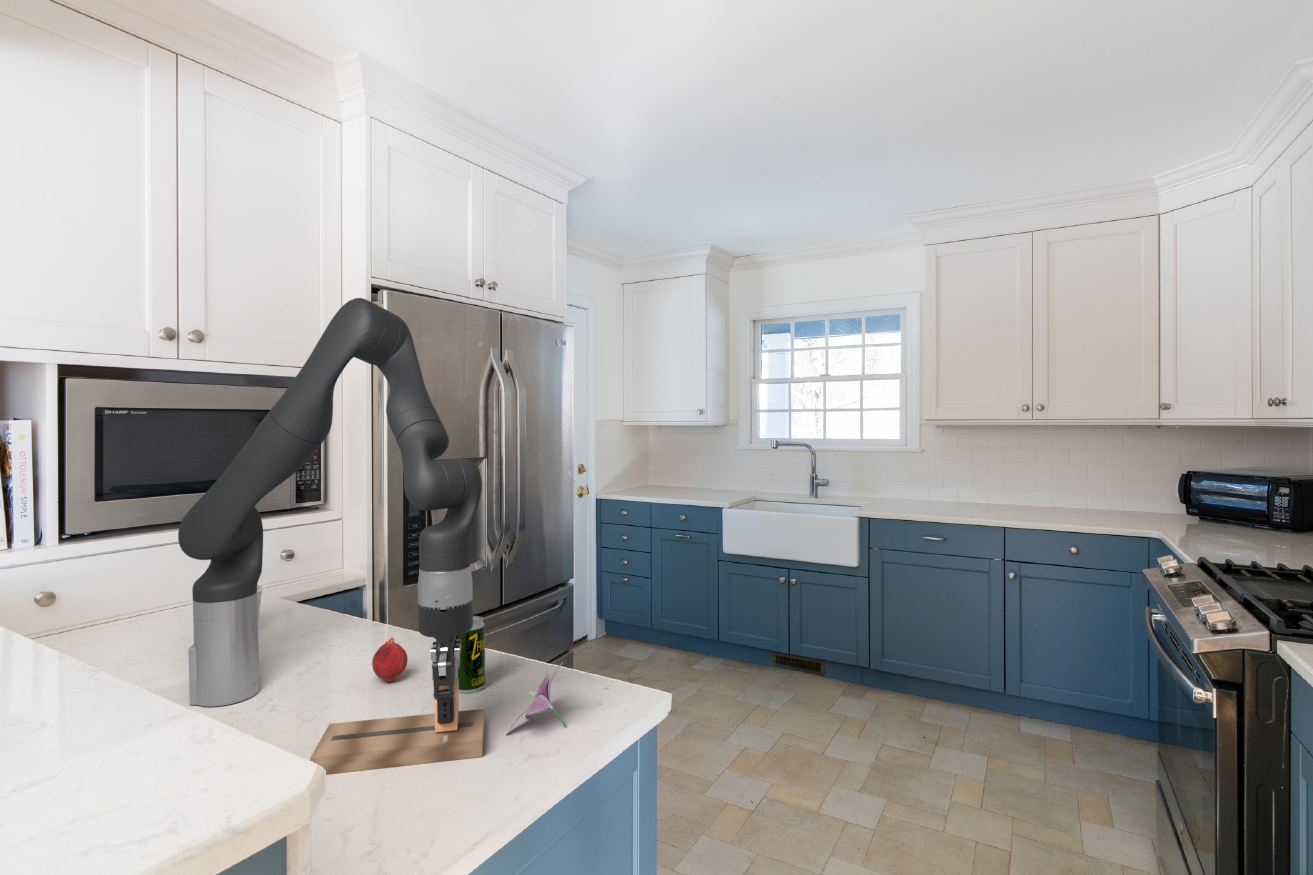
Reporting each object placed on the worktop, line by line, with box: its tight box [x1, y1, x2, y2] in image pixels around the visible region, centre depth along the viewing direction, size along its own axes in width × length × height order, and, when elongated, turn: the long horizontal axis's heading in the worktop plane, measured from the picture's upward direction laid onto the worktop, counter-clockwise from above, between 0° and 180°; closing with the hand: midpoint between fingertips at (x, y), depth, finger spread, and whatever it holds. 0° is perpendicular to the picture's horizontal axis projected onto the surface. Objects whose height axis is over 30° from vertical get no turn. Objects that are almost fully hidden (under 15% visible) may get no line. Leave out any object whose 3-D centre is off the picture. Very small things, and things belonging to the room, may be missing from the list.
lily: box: [505, 661, 568, 736], centre depth 102 cm, size 12×12×10 cm
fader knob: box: [434, 678, 460, 732], centre depth 97 cm, size 3×4×6 cm
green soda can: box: [458, 615, 486, 695], centre depth 117 cm, size 5×5×12 cm
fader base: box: [309, 708, 486, 775], centre depth 96 cm, size 22×10×3 cm, turn 103°
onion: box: [371, 636, 408, 683], centre depth 120 cm, size 6×6×8 cm
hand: (447, 714), depth 97 cm, fingers closed on fader knob, 4 cm apart
